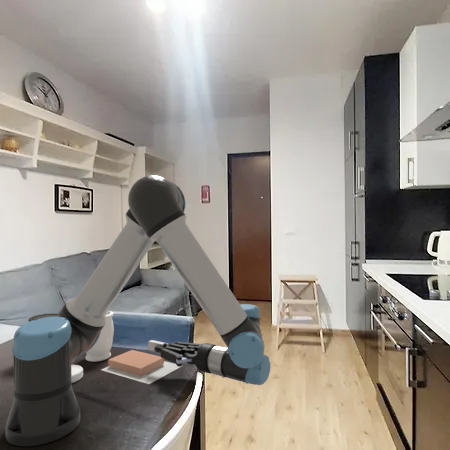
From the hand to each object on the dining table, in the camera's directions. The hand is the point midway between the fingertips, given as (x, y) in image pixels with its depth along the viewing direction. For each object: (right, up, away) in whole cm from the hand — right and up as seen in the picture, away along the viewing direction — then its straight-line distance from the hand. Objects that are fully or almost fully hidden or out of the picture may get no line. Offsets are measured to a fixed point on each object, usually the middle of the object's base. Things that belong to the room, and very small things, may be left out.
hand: (150, 345), depth 111 cm
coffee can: (-39, -9, +14) cm, 42 cm away
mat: (-3, -8, +1) cm, 9 cm away
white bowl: (-24, -9, -6) cm, 26 cm away
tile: (+1, -6, -1) cm, 6 cm away
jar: (-20, -9, +13) cm, 26 cm away
